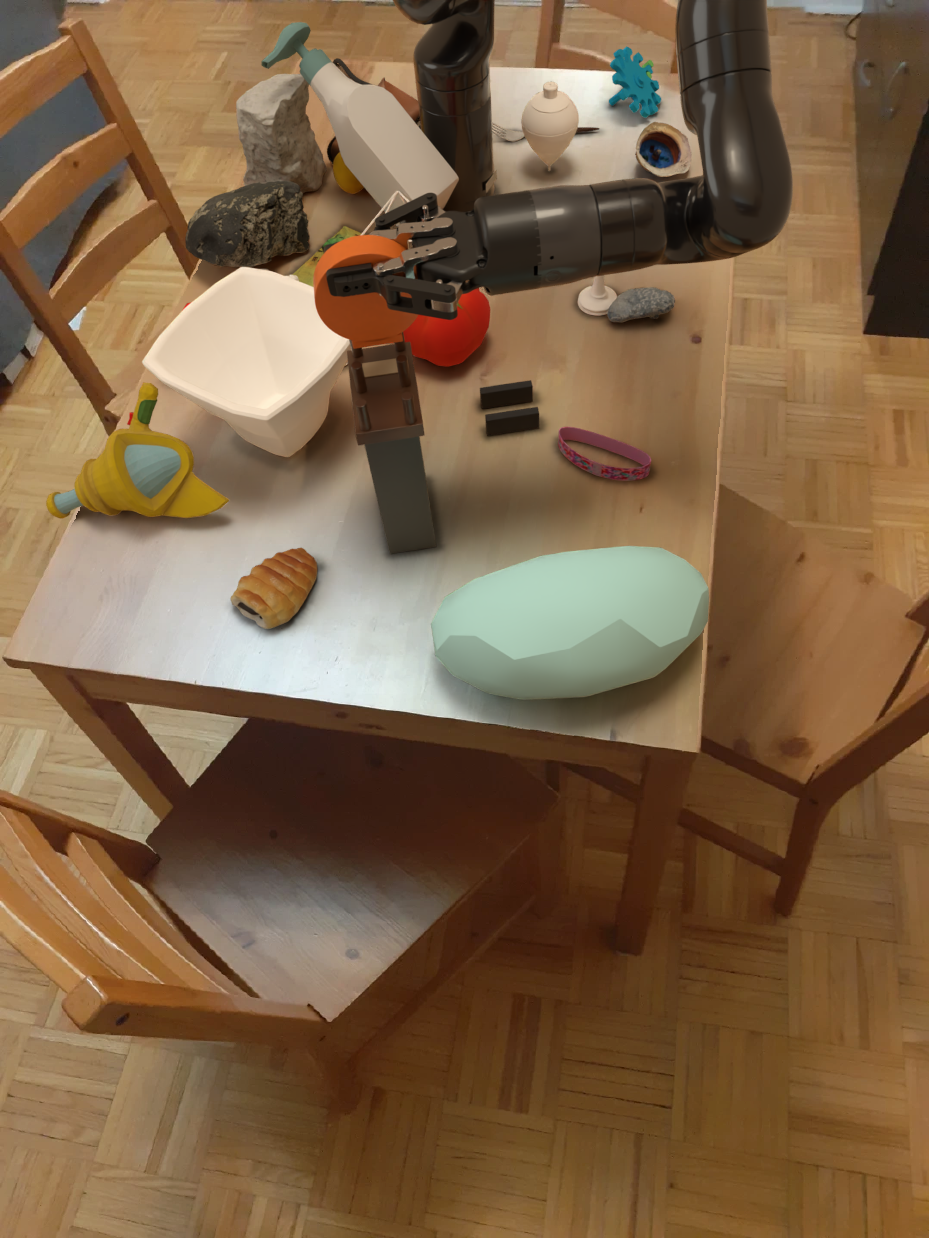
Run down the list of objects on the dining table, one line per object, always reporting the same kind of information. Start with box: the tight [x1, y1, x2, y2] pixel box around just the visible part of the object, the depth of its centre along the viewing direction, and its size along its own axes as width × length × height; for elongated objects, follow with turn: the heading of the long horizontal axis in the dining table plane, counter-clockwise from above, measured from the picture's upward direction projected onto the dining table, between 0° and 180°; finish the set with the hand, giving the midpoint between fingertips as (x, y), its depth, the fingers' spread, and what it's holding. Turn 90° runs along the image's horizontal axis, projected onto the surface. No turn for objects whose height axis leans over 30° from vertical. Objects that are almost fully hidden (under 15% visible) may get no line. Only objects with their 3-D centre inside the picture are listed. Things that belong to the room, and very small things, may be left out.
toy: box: [45, 382, 230, 519], centre depth 100 cm, size 10×20×15 cm
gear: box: [608, 46, 662, 119], centre depth 135 cm, size 11×6×10 cm
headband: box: [557, 426, 652, 482], centre depth 102 cm, size 11×4×2 cm, turn 63°
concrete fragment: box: [184, 181, 310, 268], centre depth 122 cm, size 15×10×15 cm
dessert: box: [634, 121, 693, 178], centre depth 126 cm, size 8×7×6 cm
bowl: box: [141, 266, 351, 458], centre depth 102 cm, size 19×19×14 cm
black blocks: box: [479, 380, 540, 437], centre depth 106 cm, size 6×5×2 cm
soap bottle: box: [260, 21, 459, 228], centre depth 117 cm, size 11×8×27 cm
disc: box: [313, 234, 418, 349], centre depth 78 cm, size 9×2×9 cm, turn 98°
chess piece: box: [577, 275, 618, 317], centre depth 112 cm, size 5×5×10 cm
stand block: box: [364, 436, 437, 555], centre depth 93 cm, size 5×9×18 cm, turn 8°
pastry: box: [230, 547, 318, 630], centre depth 95 cm, size 9×7×4 cm
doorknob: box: [332, 152, 365, 195], centre depth 128 cm, size 8×8×8 cm
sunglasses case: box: [326, 77, 420, 165], centre depth 136 cm, size 18×7×7 cm
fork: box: [492, 121, 600, 143], centre depth 134 cm, size 3×16×2 cm, turn 89°
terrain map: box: [291, 225, 366, 287], centre depth 122 cm, size 12×12×1 cm
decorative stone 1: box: [235, 73, 327, 194], centre depth 126 cm, size 10×9×15 cm
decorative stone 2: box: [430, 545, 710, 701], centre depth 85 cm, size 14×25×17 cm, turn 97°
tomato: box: [403, 288, 491, 367], centre depth 110 cm, size 13×12×8 cm
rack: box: [347, 332, 426, 446], centre depth 83 cm, size 6×10×4 cm, turn 8°
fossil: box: [606, 286, 676, 323], centre depth 113 cm, size 8×4×5 cm
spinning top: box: [520, 81, 580, 172], centre depth 125 cm, size 8×8×12 cm
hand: (327, 271), depth 75 cm, fingers closed on disc, 2 cm apart
